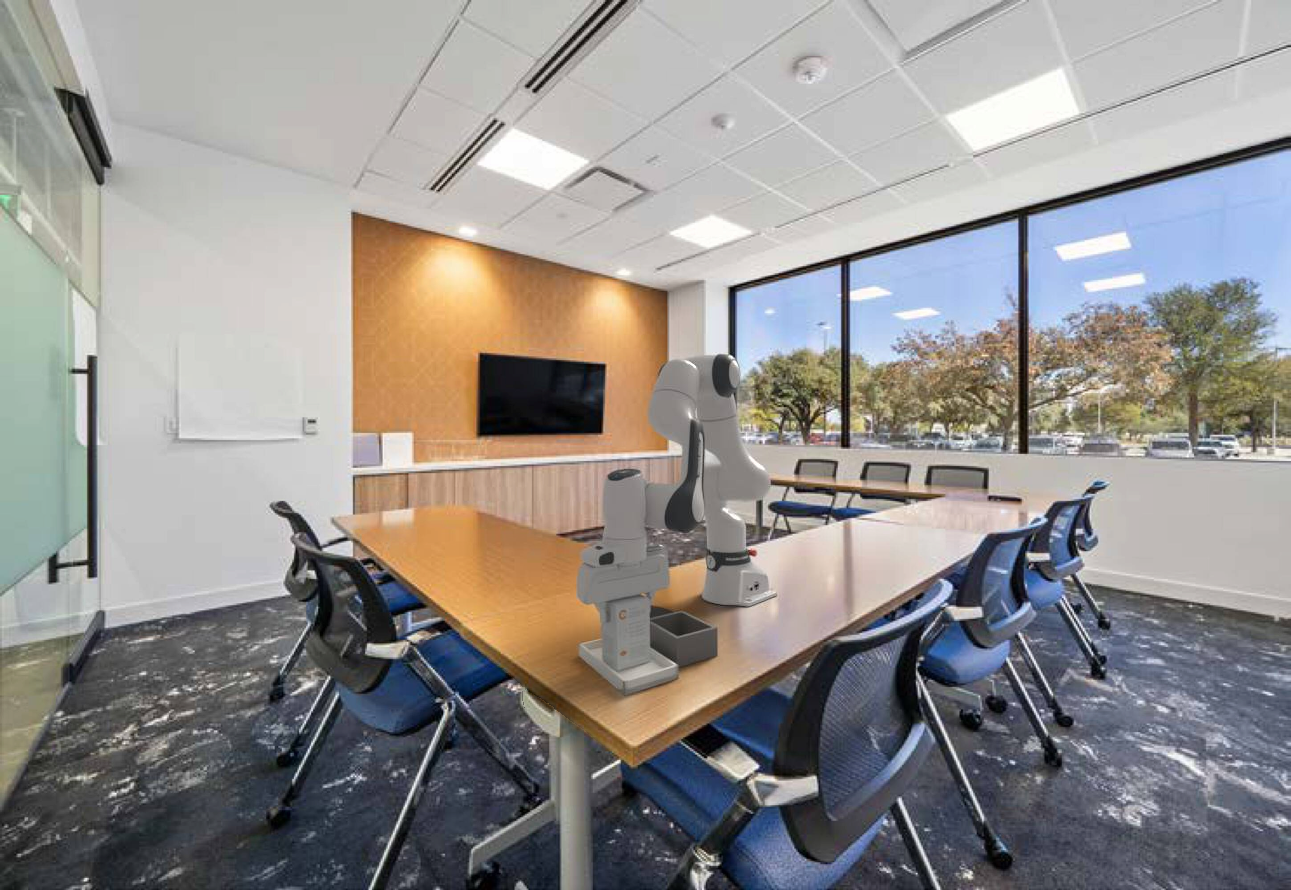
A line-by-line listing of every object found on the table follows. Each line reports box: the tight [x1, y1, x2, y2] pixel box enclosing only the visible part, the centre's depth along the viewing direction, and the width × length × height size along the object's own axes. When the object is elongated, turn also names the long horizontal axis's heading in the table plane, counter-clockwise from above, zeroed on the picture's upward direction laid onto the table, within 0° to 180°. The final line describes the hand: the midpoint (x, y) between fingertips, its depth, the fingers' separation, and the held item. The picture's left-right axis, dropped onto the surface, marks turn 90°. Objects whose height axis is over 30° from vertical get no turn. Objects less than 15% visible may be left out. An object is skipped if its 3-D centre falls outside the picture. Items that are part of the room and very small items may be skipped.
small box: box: [601, 594, 650, 671], centre depth 104 cm, size 8×6×13 cm
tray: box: [578, 637, 680, 696], centre depth 104 cm, size 12×20×2 cm, turn 32°
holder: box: [650, 610, 719, 668], centre depth 111 cm, size 11×13×6 cm
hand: (625, 617), depth 104 cm, fingers open, 8 cm apart
